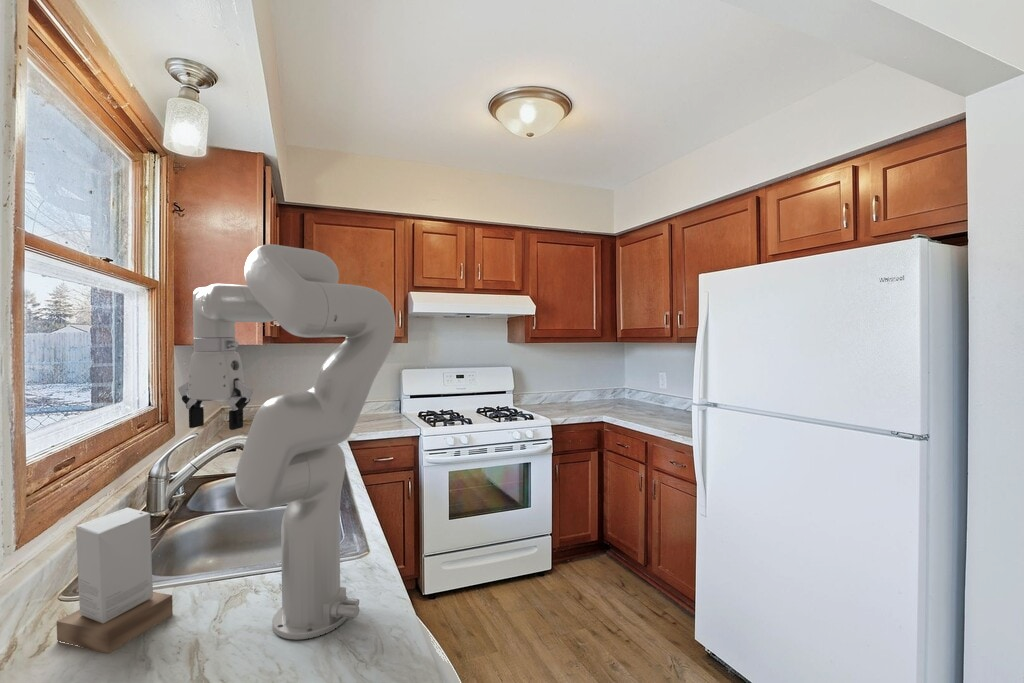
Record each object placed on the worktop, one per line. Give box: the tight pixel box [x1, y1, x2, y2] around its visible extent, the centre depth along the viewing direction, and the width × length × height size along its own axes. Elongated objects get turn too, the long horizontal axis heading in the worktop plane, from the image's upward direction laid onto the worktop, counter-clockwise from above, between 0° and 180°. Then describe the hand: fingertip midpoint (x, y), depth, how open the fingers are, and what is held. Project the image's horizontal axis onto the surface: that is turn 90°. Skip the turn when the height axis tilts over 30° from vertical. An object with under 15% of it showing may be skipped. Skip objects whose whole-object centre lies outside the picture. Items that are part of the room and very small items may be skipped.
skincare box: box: [75, 507, 154, 624], centre depth 84 cm, size 8×7×16 cm
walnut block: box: [56, 591, 174, 654], centre depth 84 cm, size 11×11×4 cm
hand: (216, 427), depth 104 cm, fingers open, 9 cm apart
